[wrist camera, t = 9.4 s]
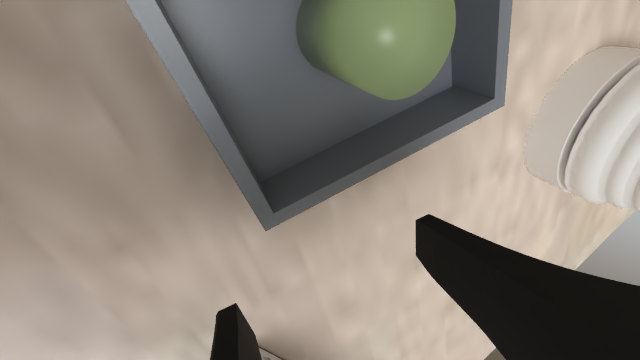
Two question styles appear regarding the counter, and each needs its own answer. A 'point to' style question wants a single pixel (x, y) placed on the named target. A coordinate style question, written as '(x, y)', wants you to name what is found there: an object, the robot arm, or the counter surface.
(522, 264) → the robot arm
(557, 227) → the counter surface
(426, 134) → the bin
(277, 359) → the supplement box
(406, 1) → the cucumber chunk
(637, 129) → the honey pot
